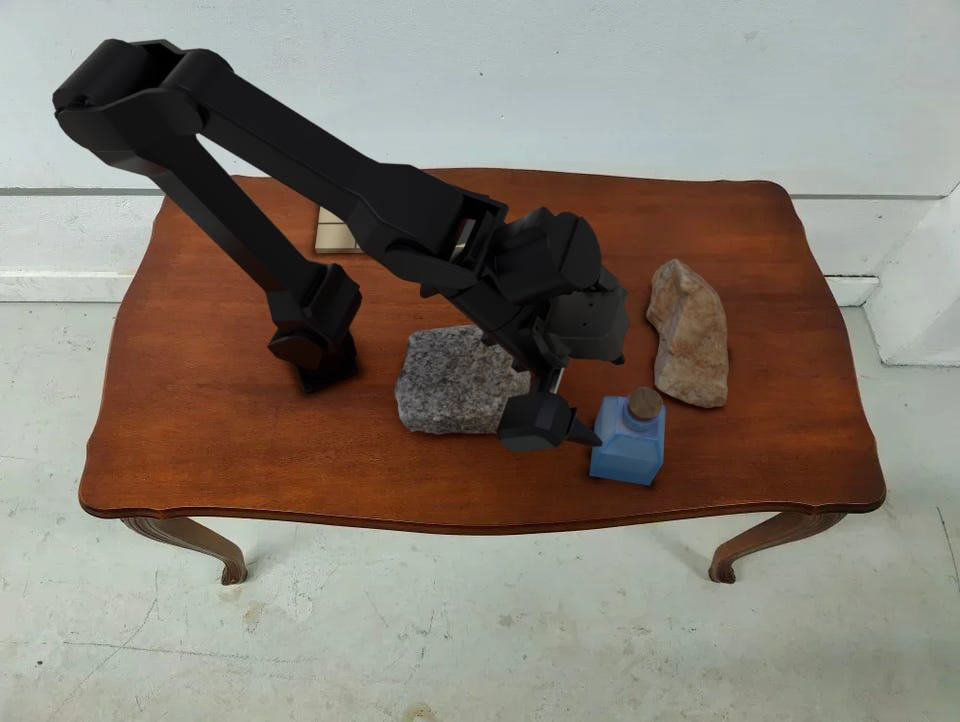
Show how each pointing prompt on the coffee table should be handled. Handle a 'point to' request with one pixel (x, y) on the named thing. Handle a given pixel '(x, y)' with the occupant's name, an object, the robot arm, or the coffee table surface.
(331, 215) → the board
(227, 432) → the coffee table surface
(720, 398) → the stone
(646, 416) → the perfume bottle
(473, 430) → the rock
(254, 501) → the coffee table surface
